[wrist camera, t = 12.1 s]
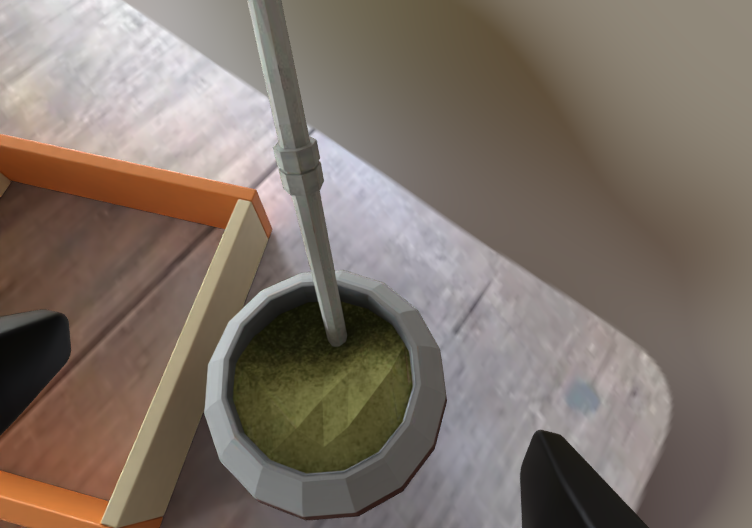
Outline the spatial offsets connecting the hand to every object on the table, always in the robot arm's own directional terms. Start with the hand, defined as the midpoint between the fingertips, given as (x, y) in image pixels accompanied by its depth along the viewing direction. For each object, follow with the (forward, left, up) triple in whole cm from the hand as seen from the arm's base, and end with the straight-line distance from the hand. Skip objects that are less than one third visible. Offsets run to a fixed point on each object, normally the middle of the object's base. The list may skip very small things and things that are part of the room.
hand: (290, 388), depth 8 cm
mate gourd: (+1, 0, -11) cm, 11 cm away
